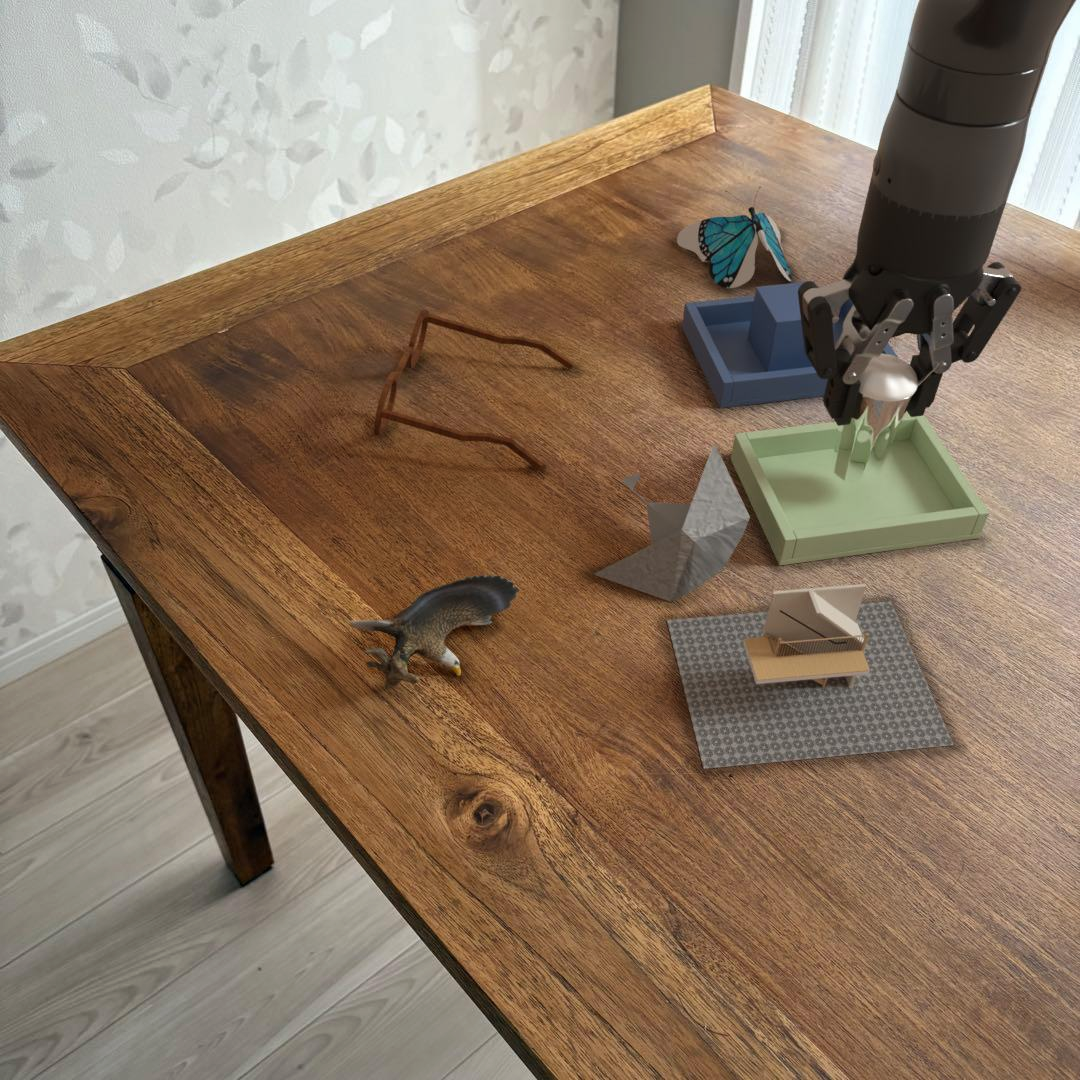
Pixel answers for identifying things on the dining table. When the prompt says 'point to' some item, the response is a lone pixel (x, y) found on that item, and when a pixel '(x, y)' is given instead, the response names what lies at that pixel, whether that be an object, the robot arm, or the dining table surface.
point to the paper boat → (685, 537)
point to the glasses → (411, 362)
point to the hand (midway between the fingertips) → (875, 412)
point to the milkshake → (875, 418)
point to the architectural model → (804, 680)
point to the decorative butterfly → (733, 245)
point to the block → (778, 328)
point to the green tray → (854, 493)
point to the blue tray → (745, 355)
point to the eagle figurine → (437, 623)
